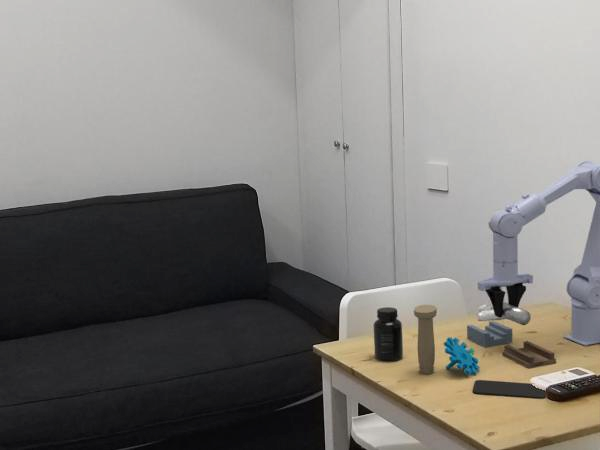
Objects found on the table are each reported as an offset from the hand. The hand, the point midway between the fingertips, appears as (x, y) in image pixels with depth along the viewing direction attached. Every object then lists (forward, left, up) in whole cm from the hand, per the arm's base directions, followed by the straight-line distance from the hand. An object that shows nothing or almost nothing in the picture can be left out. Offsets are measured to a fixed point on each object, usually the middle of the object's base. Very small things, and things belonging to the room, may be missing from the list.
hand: (505, 315), depth 197 cm
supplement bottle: (+28, -8, -9) cm, 30 cm away
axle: (0, +2, +1) cm, 3 cm away
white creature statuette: (-13, -24, -9) cm, 29 cm away
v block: (0, -7, -8) cm, 11 cm away
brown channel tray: (0, +9, -8) cm, 12 cm away
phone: (+15, +23, -9) cm, 29 cm away
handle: (+25, +5, -9) cm, 27 cm away
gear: (+17, +8, -9) cm, 21 cm away
